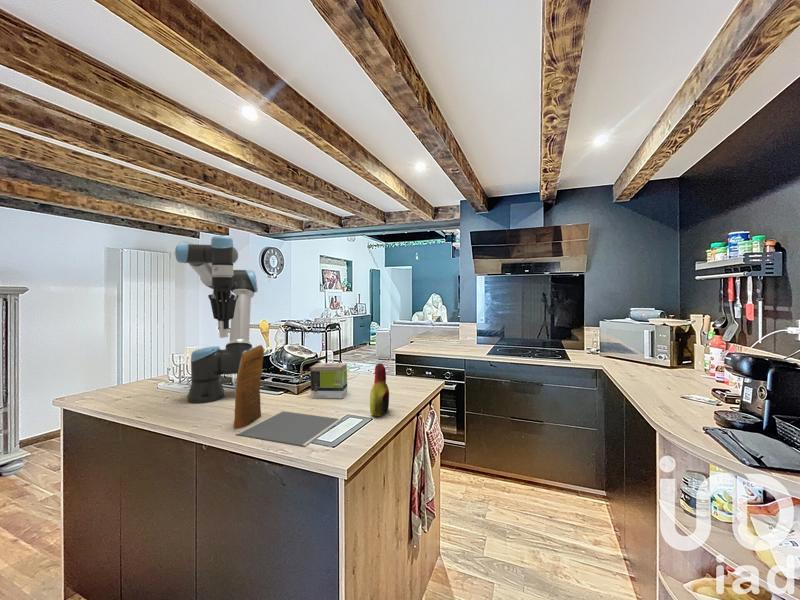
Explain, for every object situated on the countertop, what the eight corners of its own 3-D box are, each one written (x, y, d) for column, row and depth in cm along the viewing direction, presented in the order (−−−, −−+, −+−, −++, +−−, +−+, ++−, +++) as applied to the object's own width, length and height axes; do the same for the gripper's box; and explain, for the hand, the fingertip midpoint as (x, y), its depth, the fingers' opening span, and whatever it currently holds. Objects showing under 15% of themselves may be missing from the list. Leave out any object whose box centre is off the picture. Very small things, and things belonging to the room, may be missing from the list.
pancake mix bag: (270, 412, 142) (269, 344, 141) (243, 431, 123) (242, 352, 122) (255, 411, 143) (254, 343, 142) (226, 430, 124) (224, 352, 123)
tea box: (347, 392, 169) (347, 362, 169) (342, 399, 159) (342, 367, 159) (317, 392, 171) (317, 362, 170) (310, 398, 161) (310, 366, 160)
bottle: (380, 407, 148) (380, 360, 147) (394, 409, 145) (393, 361, 145) (366, 416, 137) (366, 366, 136) (380, 419, 134) (380, 367, 134)
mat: (235, 435, 120) (235, 433, 120) (281, 411, 143) (281, 410, 143) (304, 446, 111) (304, 445, 111) (341, 420, 133) (341, 419, 133)
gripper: (201, 276, 134) (202, 337, 134) (228, 276, 130) (229, 339, 130) (217, 277, 141) (218, 335, 142) (243, 276, 137) (244, 336, 137)
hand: (223, 337), depth 136 cm, fingers closed
